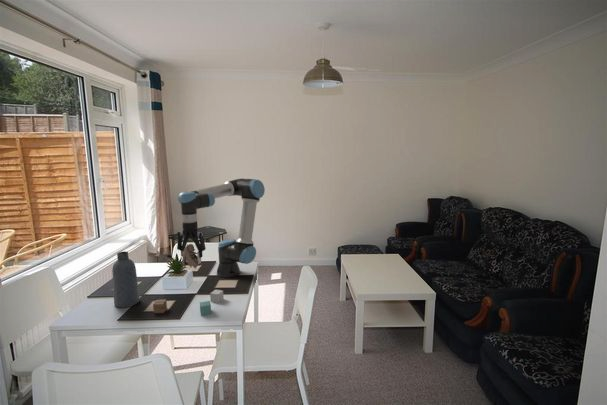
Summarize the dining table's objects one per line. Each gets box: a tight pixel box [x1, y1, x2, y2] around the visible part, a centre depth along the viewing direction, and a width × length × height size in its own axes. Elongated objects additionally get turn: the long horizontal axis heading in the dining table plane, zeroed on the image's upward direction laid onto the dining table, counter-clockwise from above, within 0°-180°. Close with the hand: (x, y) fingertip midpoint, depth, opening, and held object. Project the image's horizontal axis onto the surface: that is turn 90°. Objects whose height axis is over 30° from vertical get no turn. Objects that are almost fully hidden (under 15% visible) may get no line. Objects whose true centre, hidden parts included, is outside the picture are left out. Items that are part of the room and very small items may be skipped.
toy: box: [181, 243, 201, 269], centre depth 174 cm, size 9×8×15 cm
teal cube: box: [199, 300, 212, 317], centre depth 166 cm, size 5×5×5 cm
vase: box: [111, 251, 141, 309], centre depth 175 cm, size 12×12×28 cm
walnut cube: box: [152, 299, 168, 314], centre depth 168 cm, size 5×5×5 cm
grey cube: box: [209, 289, 224, 304], centre depth 180 cm, size 5×5×5 cm
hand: (192, 262), depth 176 cm, fingers closed on toy, 8 cm apart
